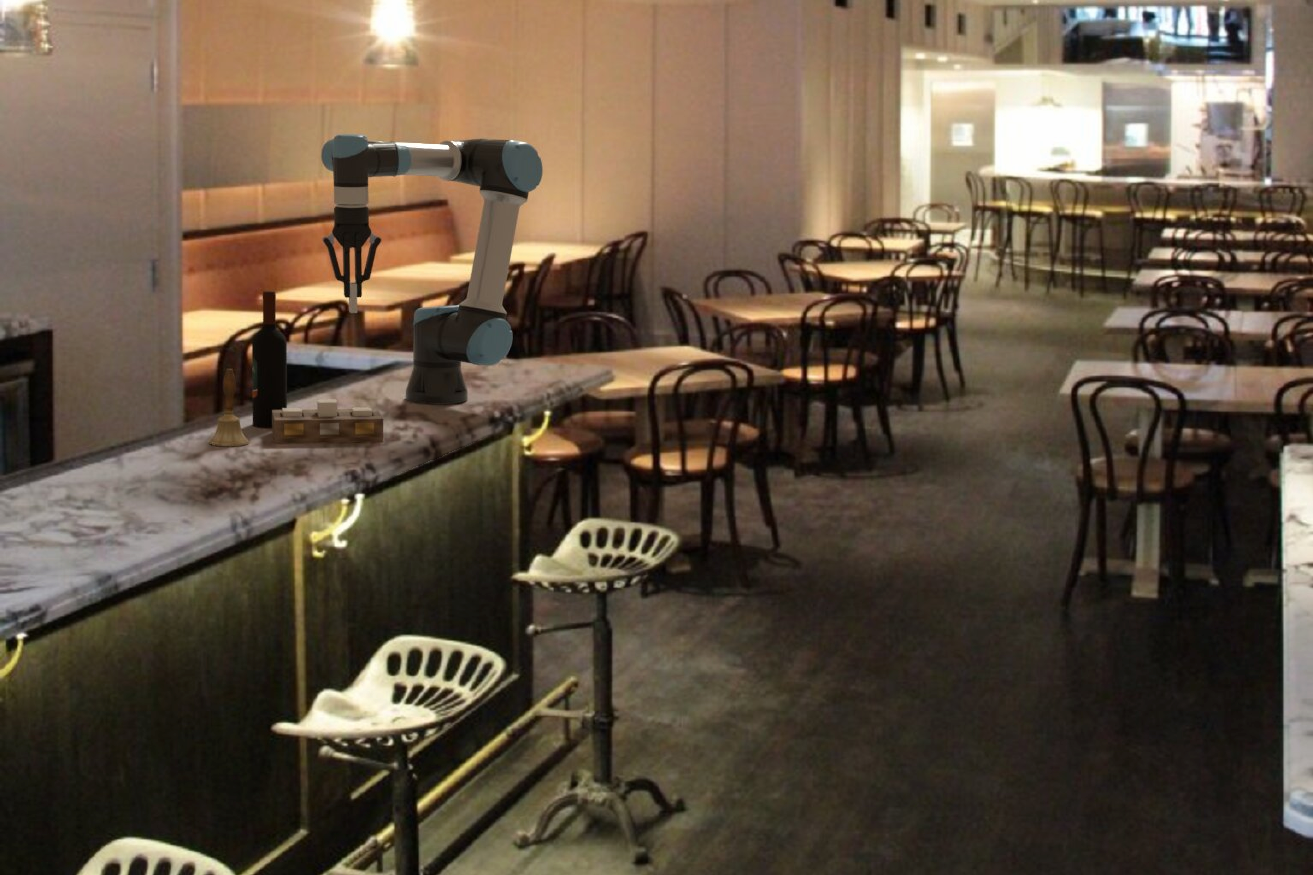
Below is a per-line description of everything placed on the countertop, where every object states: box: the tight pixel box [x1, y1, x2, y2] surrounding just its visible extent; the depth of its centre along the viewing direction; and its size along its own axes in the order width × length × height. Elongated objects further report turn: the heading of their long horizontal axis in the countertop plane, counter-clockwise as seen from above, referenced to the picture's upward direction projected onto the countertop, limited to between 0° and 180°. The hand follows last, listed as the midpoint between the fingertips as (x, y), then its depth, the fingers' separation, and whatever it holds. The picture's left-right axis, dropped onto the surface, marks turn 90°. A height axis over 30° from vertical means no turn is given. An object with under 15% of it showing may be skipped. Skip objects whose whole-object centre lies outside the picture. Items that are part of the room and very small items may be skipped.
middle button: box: [316, 398, 338, 417], centre depth 393 cm, size 4×4×5 cm
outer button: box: [282, 407, 303, 417], centre depth 392 cm, size 4×4×5 cm
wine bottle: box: [251, 290, 288, 429], centre depth 402 cm, size 8×8×30 cm
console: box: [271, 408, 384, 444], centre depth 394 cm, size 23×12×5 cm, turn 105°
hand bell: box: [208, 368, 250, 447], centre depth 383 cm, size 8×8×16 cm
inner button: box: [351, 406, 373, 416], centre depth 395 cm, size 4×4×5 cm
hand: (353, 312), depth 402 cm, fingers closed
